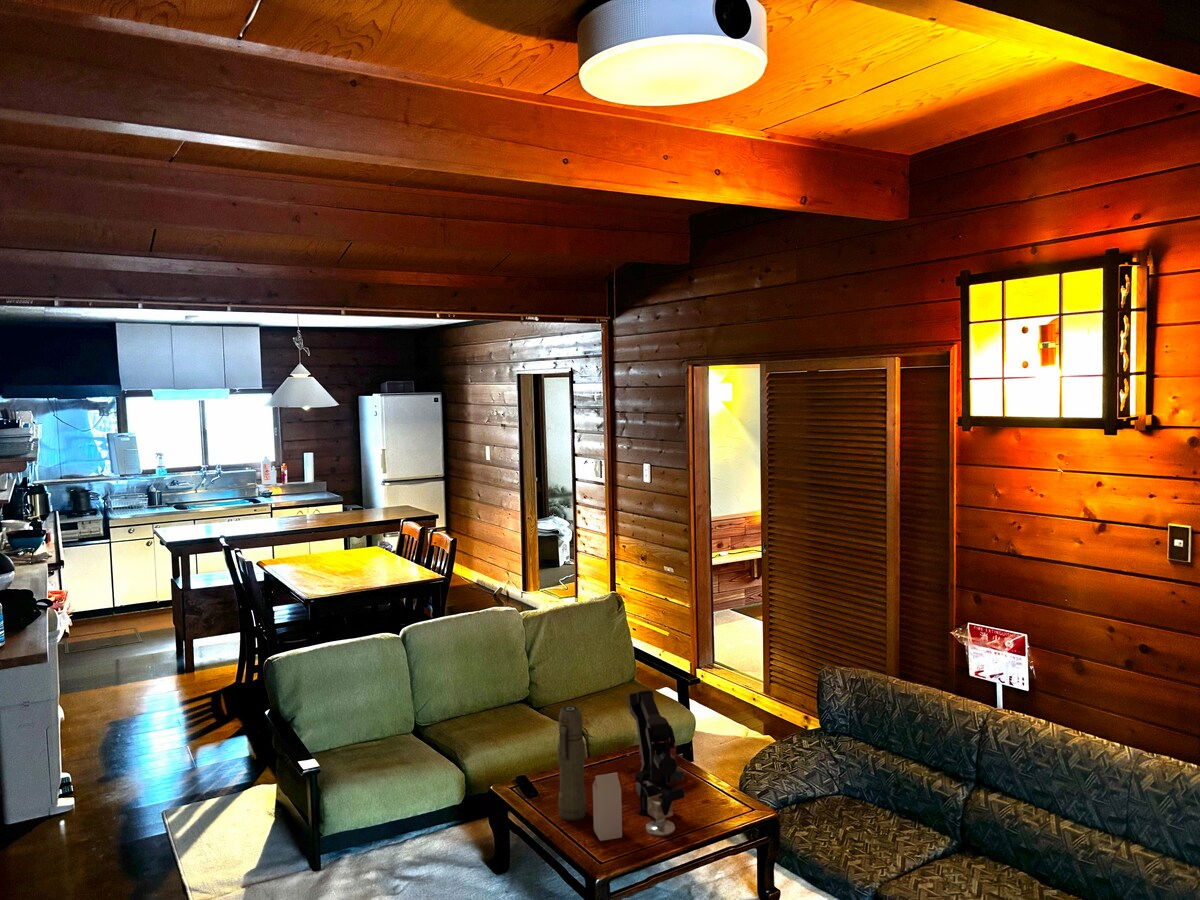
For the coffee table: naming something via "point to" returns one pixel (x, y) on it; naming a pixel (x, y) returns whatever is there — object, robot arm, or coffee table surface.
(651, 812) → the beige wooden cube
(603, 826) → the milk carton
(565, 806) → the thermos
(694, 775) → the coffee table surface
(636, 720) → the robot arm
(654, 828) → the post stand
